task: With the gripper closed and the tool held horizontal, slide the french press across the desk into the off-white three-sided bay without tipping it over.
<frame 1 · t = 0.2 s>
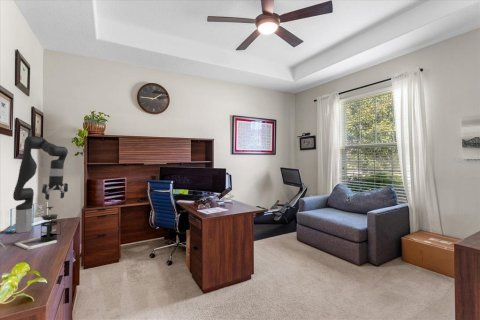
hand: (54, 198, 158), 29 cm above the table, tool pointing down, fingers open, 8 cm apart
bay: (39, 242, 154), on the table
french press: (49, 240, 159), on the table
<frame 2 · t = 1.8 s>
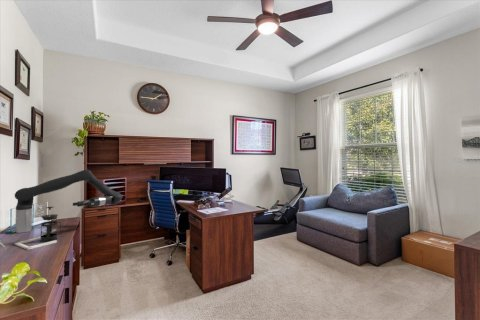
hand: (75, 204, 173), 22 cm above the table, tool horizontal, fingers open, 5 cm apart
nothing on the table moved.
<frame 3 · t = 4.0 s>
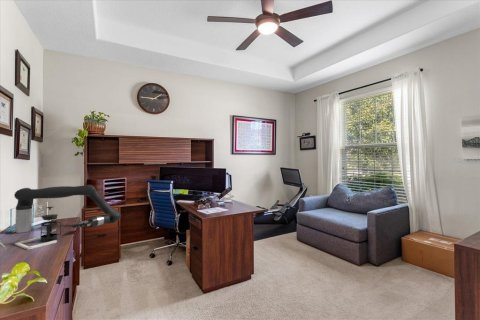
hand: (72, 226, 172), 6 cm above the table, tool horizontal, fingers closed
nothing on the table moved.
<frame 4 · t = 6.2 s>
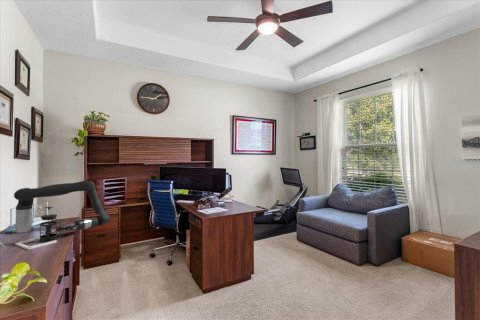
hand: (57, 229, 163), 6 cm above the table, tool horizontal, fingers closed
french press: (49, 240, 159), on the table, touching gripper
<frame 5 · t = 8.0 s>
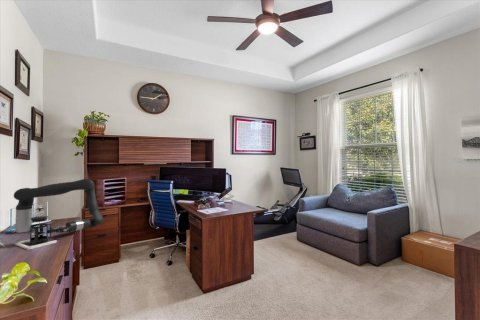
hand: (47, 231, 158), 6 cm above the table, tool horizontal, fingers closed
french press: (39, 243, 154), on the table, touching gripper
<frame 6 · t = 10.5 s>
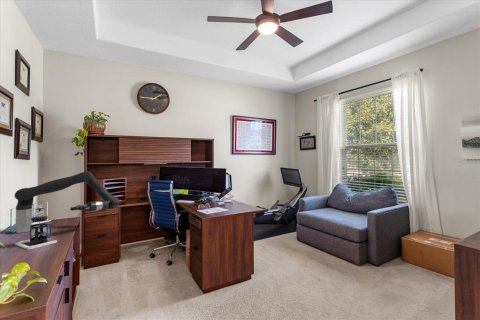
hand: (70, 209, 171), 19 cm above the table, tool horizontal, fingers closed
french press: (39, 243, 154), on the table
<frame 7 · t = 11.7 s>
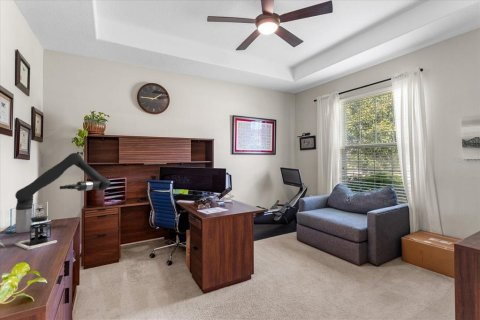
hand: (60, 187, 172), 35 cm above the table, tool horizontal, fingers closed
nothing on the table moved.
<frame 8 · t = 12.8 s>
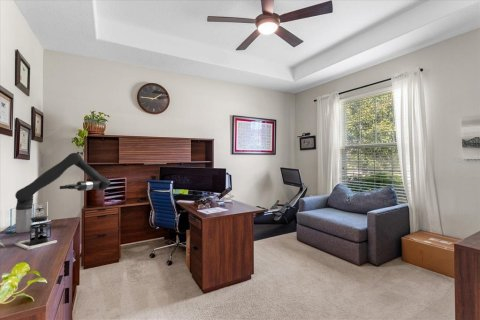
hand: (60, 187, 172), 35 cm above the table, tool horizontal, fingers closed
nothing on the table moved.
at the end: french press 0.6 cm off-centre on the bay, point 0.0 cm above the bay's base; french press tilted 0° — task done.
